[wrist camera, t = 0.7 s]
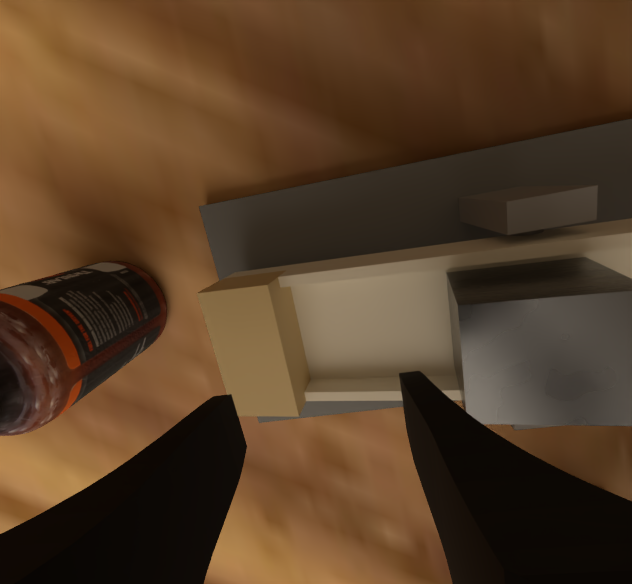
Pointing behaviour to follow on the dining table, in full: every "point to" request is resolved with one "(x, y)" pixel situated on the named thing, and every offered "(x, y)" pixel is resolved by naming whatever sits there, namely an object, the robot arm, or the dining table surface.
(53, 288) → the supplement bottle
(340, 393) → the beam
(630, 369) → the rider
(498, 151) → the stand
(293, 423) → the dining table surface
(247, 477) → the dining table surface
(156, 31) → the dining table surface
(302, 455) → the dining table surface
